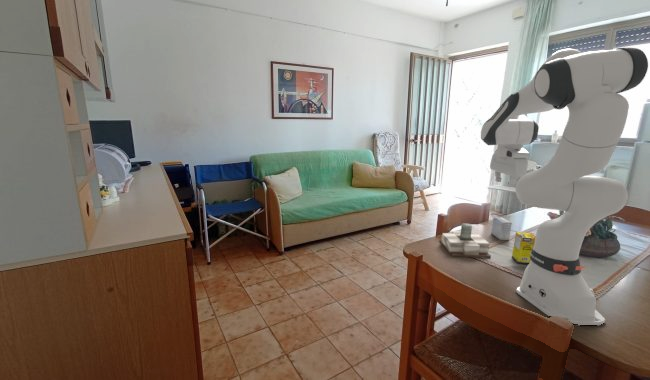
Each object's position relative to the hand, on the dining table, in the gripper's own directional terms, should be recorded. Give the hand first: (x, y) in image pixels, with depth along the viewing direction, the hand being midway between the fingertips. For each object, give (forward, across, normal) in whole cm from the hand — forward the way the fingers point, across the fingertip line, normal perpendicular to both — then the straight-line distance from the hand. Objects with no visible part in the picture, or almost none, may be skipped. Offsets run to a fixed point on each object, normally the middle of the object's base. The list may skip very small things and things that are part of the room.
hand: (504, 184), depth 125 cm
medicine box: (+28, -10, +8) cm, 31 cm away
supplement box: (+28, +15, +3) cm, 32 cm away
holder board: (+28, +5, -16) cm, 32 cm away
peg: (+27, +5, -16) cm, 31 cm away
